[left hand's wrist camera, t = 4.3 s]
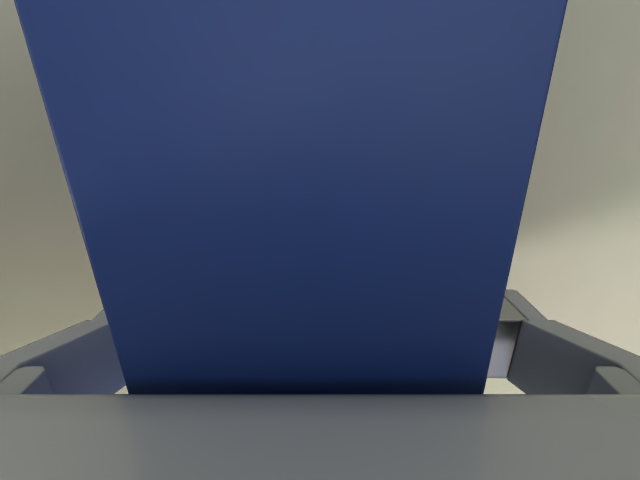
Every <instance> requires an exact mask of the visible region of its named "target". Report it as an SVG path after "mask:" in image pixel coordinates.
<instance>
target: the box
mask: <svg viewBox="0 0 640 480" xmlns="http://www.w3.org/2000/svg"><path fill="white" fill-rule="evenodd" d="M567 1H568V0H14V2H15V5H16V9H17V12H18V16H19V19H20V22H21V26H22V29H23V33H24V36H25V40H26V43H27V47H28V50H29V53H30V57H31V60H32V64H33V67H34V71H35V74H36V77H37V81H38V84H39V88H40V91H41V95H42V98H43V101H44V105H45V108H46V112H47V115H48V119H49V122H50V125H51V129H52V132H53V136H54V139H55V143H56V146H57V149H58V153H59V156H60V160H61V163H62V167H63V170H64V174H65V177H66V180H67V184H68V187H69V191H70V194H71V198H72V201H73V204H74V208H75V211H76V215H77V218H78V222H79V225H80V228H81V232H82V235H83V239H84V242H85V246H86V249H87V252H88V256H89V259H90V263H91V266H92V270H93V273H94V276H95V280H96V283H97V287H98V290H99V294H100V297H101V300H102V304H103V307H104V311H105V314H106V318H107V321H108V325H109V328H110V331H111V335H112V338H113V342H114V345H115V349H116V352H117V355H118V359H119V362H120V366H121V369H122V373H123V376H124V379H125V383H126V386H127V390H128V393H129V394H483V393H484V388H485V384H486V379H487V374H488V370H489V365H490V360H491V356H492V351H493V346H494V342H495V337H496V332H497V328H498V323H499V318H500V314H501V309H502V304H503V300H504V295H505V290H506V286H507V281H508V276H509V272H510V267H511V262H512V258H513V253H514V248H515V243H516V239H517V234H518V229H519V225H520V220H521V215H522V211H523V206H524V201H525V197H526V192H527V187H528V183H529V178H530V173H531V169H532V164H533V159H534V155H535V150H536V145H537V141H538V136H539V131H540V127H541V122H542V117H543V113H544V108H545V103H546V99H547V94H548V89H549V85H550V80H551V75H552V71H553V66H554V61H555V57H556V52H557V47H558V43H559V38H560V33H561V29H562V24H563V19H564V15H565V10H566V5H567Z"/></svg>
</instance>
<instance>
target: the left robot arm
mask: <svg viewBox="0 0 640 480" xmlns="http://www.w3.org/2000/svg"><path fill="white" fill-rule="evenodd" d="M487 378H508V379H507V380H508V381H510V382H511V383H512V384H514V385H515V386H516V387H518V388H519V389H520V390H522V391H523V392H524V393H526V394H115V393H116V392H117V391H119V390H120V389H121V388H122V387H124V386H125V385H126V383H125V379H124V376H123V373H122V369H121V366H120V362H119V359H118V355H117V352H116V349H115V345H114V342H113V338H112V335H111V331H110V328H109V325H108V321H107V318H106V314H105V311H104V309H103V310H102V311H101V312H100V313H99V314H98V315H97V316H96V317H95V318H94V319H93V320H86V321H83V322H81V323H78V324H76V325H74V326H71V327H69V328H66V329H64V330H62V331H59V332H57V333H54V334H52V335H50V336H47V337H45V338H42V339H40V340H38V341H35V342H33V343H30V344H28V345H26V346H23V347H21V348H18V349H16V350H14V351H11V352H9V353H6V354H4V355H2V356H0V480H640V356H638V355H636V354H633V353H631V352H629V351H626V350H624V349H621V348H619V347H617V346H614V345H612V344H609V343H607V342H605V341H602V340H600V339H597V338H595V337H593V336H590V335H588V334H586V333H583V332H581V331H578V330H576V329H574V328H571V327H569V326H566V325H564V324H562V323H559V322H557V321H554V320H547V319H546V318H545V317H544V316H543V315H542V314H541V313H540V312H539V311H538V310H537V309H536V308H535V307H534V306H533V305H532V304H530V303H529V302H528V301H527V300H526V299H525V298H524V297H523V296H522V295H521V294H520V293H519V292H518V291H516V290H513V289H509V290H505V295H504V300H503V304H502V309H501V314H500V318H499V323H498V328H497V332H496V337H495V342H494V346H493V351H492V356H491V360H490V365H489V370H488V374H487Z"/></svg>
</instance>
